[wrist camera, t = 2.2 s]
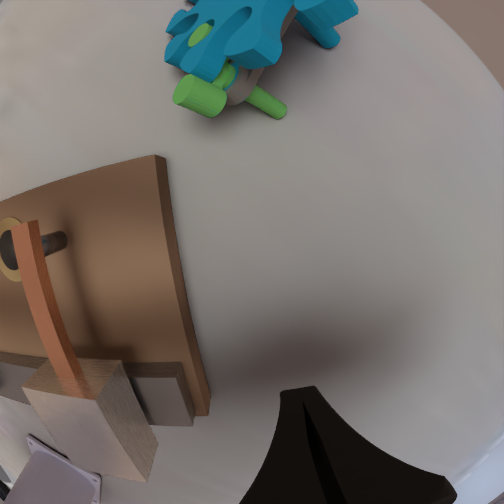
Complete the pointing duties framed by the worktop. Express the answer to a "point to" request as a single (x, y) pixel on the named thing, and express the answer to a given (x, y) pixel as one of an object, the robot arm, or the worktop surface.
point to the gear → (241, 47)
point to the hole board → (106, 270)
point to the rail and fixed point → (140, 377)
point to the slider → (79, 379)
